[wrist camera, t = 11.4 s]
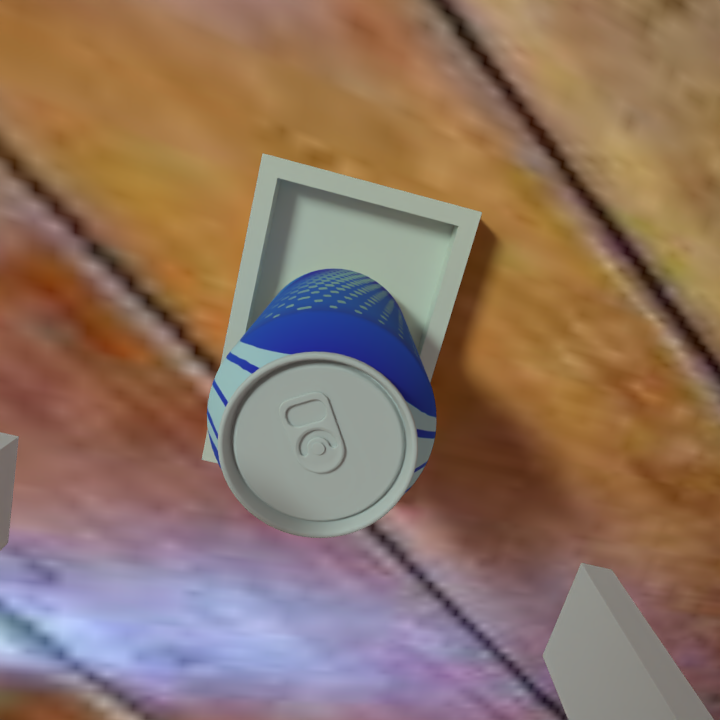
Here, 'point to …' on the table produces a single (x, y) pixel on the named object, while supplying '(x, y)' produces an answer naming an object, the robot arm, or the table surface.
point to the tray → (351, 248)
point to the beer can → (323, 407)
